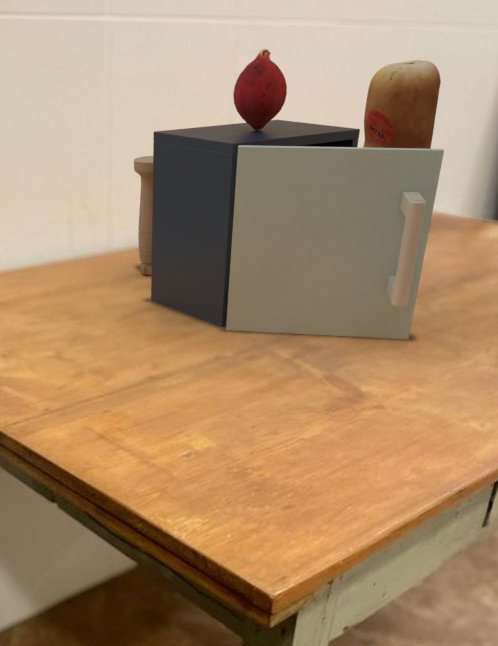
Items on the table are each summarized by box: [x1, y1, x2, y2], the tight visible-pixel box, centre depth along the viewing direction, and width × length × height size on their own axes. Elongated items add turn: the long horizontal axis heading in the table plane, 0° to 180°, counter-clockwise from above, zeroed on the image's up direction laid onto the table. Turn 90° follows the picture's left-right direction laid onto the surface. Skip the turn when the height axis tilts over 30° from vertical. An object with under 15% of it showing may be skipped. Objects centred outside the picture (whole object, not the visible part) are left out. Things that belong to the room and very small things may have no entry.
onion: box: [233, 48, 288, 130], centre depth 90 cm, size 6×6×8 cm
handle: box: [133, 155, 153, 276], centre depth 111 cm, size 5×6×15 cm
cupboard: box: [150, 119, 361, 328], centre depth 98 cm, size 13×20×20 cm, turn 127°
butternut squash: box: [363, 59, 441, 149], centre depth 136 cm, size 14×13×25 cm
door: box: [225, 145, 445, 340], centre depth 84 cm, size 7×20×20 cm, turn 81°
